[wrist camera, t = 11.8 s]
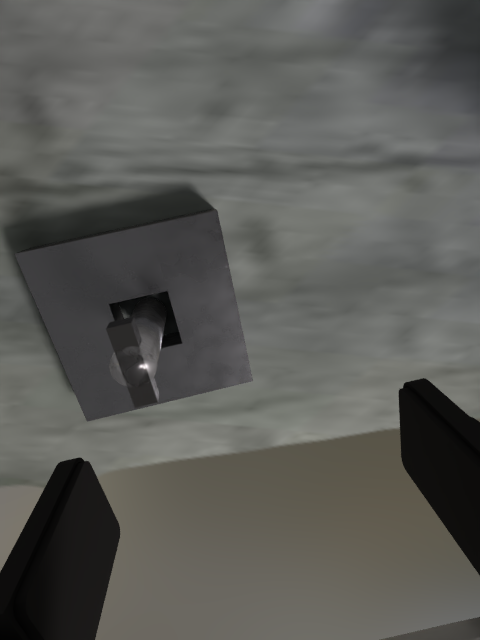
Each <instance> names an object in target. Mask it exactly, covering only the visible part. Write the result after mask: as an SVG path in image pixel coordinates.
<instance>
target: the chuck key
mask: <svg viewBox="0 0 480 640" xmlns="http://www.w3.org/2000/svg"><path fill="white" fill-rule="evenodd" d="M166 316H167V311H166V308H165V306H164V304H163V303H162V302H161V301H159V300H157V299H155V298H145V299H142V300H140V301H139V302H138V303H137V304H136V306H135V308H134V310H133V313H132V315H131V317H130V318H126V319H121V320H117V321H113V322H110V323H109V324H108V326H107V328H106V331H107V333H108V336H109V339H110V342H111V344H112V347H113V350H114V353H113V355H112V357H111V360H110V363H109V369H110V373H111V375H112V377H113V378H114V379H115V380H116V381H117V382H118V383H120V384H121V385H124V386H127V388H128V391H129V393H130V396H131V399H132V402H133V404H134V407H135V408H137V407H141V406H145V405H149V404H153V403H157V402H158V398H159V391H158V388H157V385H156V382H155V379H154V376H155V374H156V370H157V364H158V359H159V353H160V348H161V343H162V337H163V332H164V326H165V321H166Z"/></svg>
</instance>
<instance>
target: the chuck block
mask: <svg viewBox="0 0 480 640" xmlns="http://www.w3.org/2000/svg"><path fill="white" fill-rule="evenodd" d="M15 256H16V259H17V261H18V263H19V266H20V268H21V270H22V273H23V275H24V277H25V280H26V282H27V284H28V286H29V289H30V291H31V293H32V296H33V298H34V300H35V303H36V305H37V307H38V310H39V312H40V314H41V316H42V319H43V321H44V323H45V326H46V328H47V330H48V333H49V335H50V337H51V339H52V342H53V344H54V346H55V349H56V351H57V353H58V356H59V358H60V360H61V363H62V365H63V367H64V369H65V372H66V374H67V376H68V379H69V381H70V383H71V386H72V388H73V390H74V393H75V395H76V397H77V399H78V402H79V404H80V406H81V409H82V411H83V413H84V416H85V418H86V420H87V421H91V420H95V419H99V418H103V417H108V416H112V415H116V414H120V413H124V412H128V411H132V410H136V409H140V408H144V407H148V406H153V405H157V404H161V403H165V402H169V401H173V400H177V399H181V398H185V397H189V396H193V395H198V394H202V393H206V392H210V391H214V390H218V389H222V388H226V387H230V386H234V385H238V384H243V383H247V382H251V381H253V379H252V374H251V369H250V364H249V360H248V355H247V350H246V345H245V341H244V336H243V331H242V326H241V321H240V317H239V312H238V307H237V302H236V298H235V293H234V288H233V283H232V279H231V274H230V269H229V264H228V260H227V255H226V250H225V245H224V240H223V236H222V231H221V226H220V221H219V217H218V212H217V210H216V209H210V210H206V211H201V212H196V213H192V214H187V215H182V216H178V217H173V218H168V219H164V220H159V221H154V222H150V223H145V224H140V225H136V226H131V227H126V228H122V229H117V230H112V231H108V232H103V233H98V234H94V235H89V236H84V237H80V238H75V239H70V240H66V241H61V242H56V243H51V244H47V245H42V246H37V247H33V248H29V249H26V250H24V251H21V252H18V253H16V254H15ZM165 291H168V294H169V298H170V301H171V305H172V308H173V312H174V315H175V319H176V322H177V326H178V329H179V332H176V333H172V334H168V335H163V337H162V343H161V348H160V353H159V359H158V364H157V370H156V374H155V376H154V379H155V382H156V385H157V388H158V391H159V398H158V402H157V403H153V404H149V405H145V406H141V407H137V408H135V407H134V404H133V402H132V399H131V396H130V393H129V391H128V388H127V386H124V385H121V384H120V383H118V382H117V381H116V380H115V379H114V378H113V377H112V375H111V373H110V369H109V363H110V360H111V357H112V355H113V353H114V350H113V347H112V344H111V342H110V339H109V336H108V333H107V331H106V328H107V326H108V324H109V323H110V322H113V321H117V320H121V319H124V317H123V314H122V311H121V308H120V305H119V303H118V302H121V301H125V300H129V299H134V298H138V297H143V296H147V295H151V294H156V293H160V292H165Z"/></svg>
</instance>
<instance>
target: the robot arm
mask: <svg viewBox="0 0 480 640" xmlns="http://www.w3.org/2000/svg"><path fill="white" fill-rule="evenodd" d="M399 412H400V435H401V457H402V462H403V465H404V468H405V470H406V471H407V473H408V474H409V476H410V477H411V478H412V480H413V481H414V483H415V484H416V485H417V487H418V488H419V490H420V491H421V493H422V494H423V495H424V497H425V498H426V499H427V501H428V502H429V504H430V505H431V507H432V508H433V510H434V511H435V512H436V514H437V515H438V517H439V518H440V520H441V521H442V522H443V524H444V525H445V527H446V528H447V530H448V531H449V532H450V534H451V535H452V536H453V538H454V539H455V541H456V542H457V544H458V545H459V547H460V548H461V549H462V551H463V552H464V554H465V555H466V556H467V558H468V559H469V561H470V562H471V564H472V565H473V567H474V568H475V569H476V571H477V572H478V573H479V575H480V422H479V421H477V420H476V419H474V418H472V417H469V416H468V415H467V414H466V413H465V412H464V411H463V410H461V409H460V408H459V407H458V406H457V405H456V404H455V403H453V402H452V401H451V400H450V399H449V398H448V397H447V396H445V395H444V394H443V393H442V392H441V391H440V390H439V389H438V388H436V387H435V386H434V385H433V384H432V383H431V382H430V381H428V380H427V379H424V378H423V379H419V380H414V381H410V382H406V383H404V386H403V388H402V389H400V390H399ZM119 538H120V527H119V523H118V521H117V519H116V517H115V515H114V513H113V511H112V508H111V506H110V504H109V502H108V500H107V498H106V496H105V493H104V491H103V489H102V487H101V485H100V483H99V481H98V479H97V476H96V474H95V472H94V470H93V468H92V466H91V464H90V462H88V461H84V460H83V459H82V458H75V459H71V460H67V461H62V462H60V463H58V465H57V466H56V468H55V470H54V472H53V474H52V476H51V477H50V479H49V481H48V483H47V485H46V487H45V489H44V491H43V493H42V494H41V496H40V498H39V501H38V502H37V504H36V506H35V508H34V510H33V511H32V513H31V515H30V517H29V519H28V521H27V523H26V525H25V527H24V529H23V531H22V532H21V534H20V536H19V538H18V540H17V542H16V544H15V546H14V547H13V550H12V551H11V553H10V555H9V557H8V559H7V561H6V563H5V565H4V566H3V568H2V570H1V572H0V640H95V637H96V633H97V629H98V625H99V621H100V617H101V613H102V608H103V604H104V600H105V596H106V592H107V588H108V584H109V580H110V575H111V571H112V567H113V563H114V559H115V555H116V551H117V547H118V542H119ZM381 640H480V617H479V618H473V619H469V620H464V621H459V622H454V623H450V624H446V625H441V626H437V627H433V628H429V629H424V630H420V631H415V632H411V633H407V634H403V635H398V636H394V637H389V638H385V639H381Z"/></svg>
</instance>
